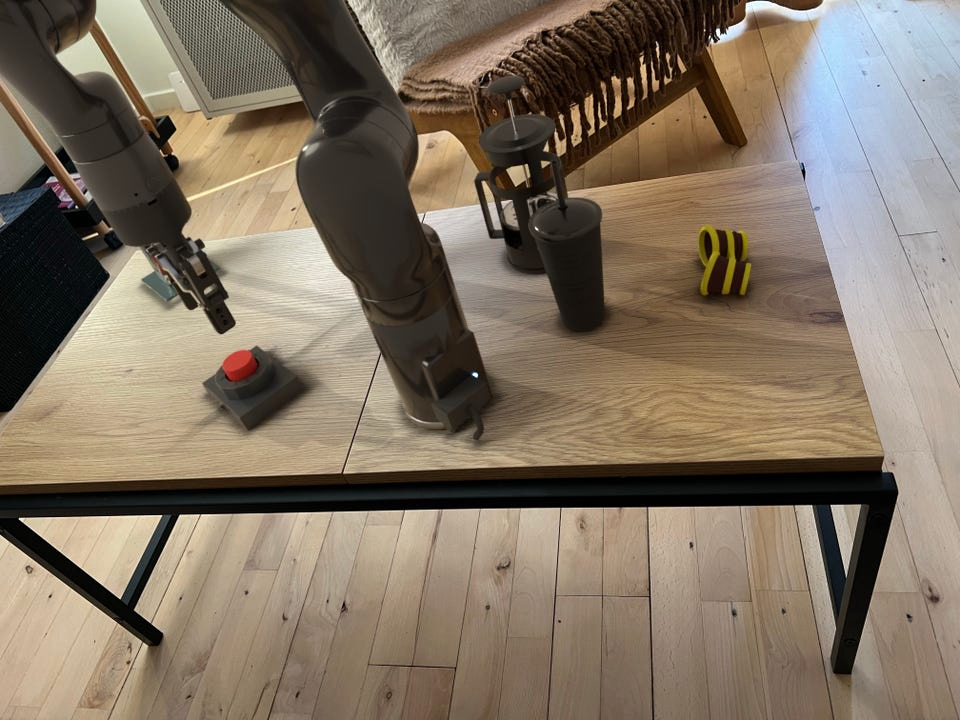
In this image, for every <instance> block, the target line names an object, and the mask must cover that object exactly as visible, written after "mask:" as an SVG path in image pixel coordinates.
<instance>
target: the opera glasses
mask: <svg viewBox="0 0 960 720" xmlns="http://www.w3.org/2000/svg"><path fill="white" fill-rule="evenodd" d="M697 237H698V238H697V246H698V247H697V248H698V254H699V258H700V261H701V262H702V264H703V266H704V267H705V270H704V272H703V275H702V279H701V282H700V294H701V295H702V296H708V295H709V293H721V295H729V293H732V294H736V293H739V295H740V296H745V294H746V291H747V287H748V283H749V279H750V273H751V269H752V263H750V262H746V264H745V263H743V262H745V261H746V260H747V258H748V254H749V237H748V234H747V231H745V230H739V231H736V230H733V231H732V230H731V229H728V228H722V229H718V228H715V227H714V226H712V225H710V224H706V225H704V226H702V227H701V229H700V230H699V232H698V236H697Z"/></svg>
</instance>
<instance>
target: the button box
mask: <svg viewBox="0 0 960 720" xmlns="http://www.w3.org/2000/svg"><path fill="white" fill-rule="evenodd" d="M247 350H248V351H250V352H251V353H252V355H253V357H254V359H255V360H256V362H257V364H258V368H257V370H256V371H255V373H253V374H252V375H251V376H249V377H248V378H246V379H243V380H240V381H237V382H235V381H231V380H230V379H229V378H228V376H227V374H226V373H225V371H224V369H223V367H222V364H221V366H219V368H218V370H217V371H216V372H215V373H214V374H213V375H211V376H210V377H208V378H207V379H206V380H204V381H203V382H201V385H202V386H203V388H204V390H205V391H206V392H207V393H208V394H209V395H210V396H211V397H213V399H215V400H216V401H217V402H218V403H219V404H220V407H221V408H222V409H223V410H224V411H225V412H226V413H228V414H229V415H230V416H231V417H232V418H233V419H234V420H235V421H236V422H237V423H238V424H240V425H241V427H243V428H244V429H245V430H246V431H247V432H248V431H250V430H251V429H253V428H254V427H256V425H258V424H259V423H261V422H262V421H263V420H264V419H266V418H267V417H269V416H270V415H271V414H273V413H274V412H275V411H277V410H278V409H280V408H281V407H282V406H284V405H285V404H286V403H288V402H289V401H290V400H292V399H293V398H295V397H296V396H297V395H299V394H300V393H301V392H303V391H304V390H305V388H304V385H303V384H302V381H301V380H300V379H299V377H298V375H296V374H295V373H294V372H292V371H291V369H289V368H287V367H286V366H284V365H283V364H282V363H280V361H278V360H277V359H275V358H274V357H273V356H271V355H270V354H269V353H267V352H266V351H264V349H262V348H261V347H259V346H258V345H255V346H254V347H252V348H251V349H247Z"/></svg>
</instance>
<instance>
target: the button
mask: <svg viewBox="0 0 960 720" xmlns="http://www.w3.org/2000/svg"><path fill="white" fill-rule="evenodd" d="M248 350H249V349H240V350H236V351H234V352H232V353H231V354H229V355H227V356H226V357H225V358H224V360H223V361H222V364H221V365H222V367H223V369H224V371H225V373H226V374H227V376H228V378H229V379H230V380H231V381H235V382H237V381H240V380H243V379H246V378H248V377H249V376H251V375H252V374H253V373H255V371H256V370H257V368H258V364H257V362H256V360H255V359H254V357H253V355H252V353H251V352H250V351H248Z"/></svg>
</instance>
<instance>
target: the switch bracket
mask: <svg viewBox="0 0 960 720" xmlns="http://www.w3.org/2000/svg"><path fill="white" fill-rule="evenodd" d="M139 249H140V250H141V252H142V253H143V255H144V257H145V259H146V260H147V262H148V264H149V265H150V266H151V268H152V270H153V271H152V272H151V273H148V274H147V275H145V276H144V277H142V278H141V279H140V282H141V283H143V284H144V285H145V286H147V287H148V288H149V289H150V290H152V291H153V292H154V293H155V294H157V295H158V296H159V297H160V298H161V299H163V300H164V301H165V302H169V301H171V300H172V299H174V298H176V297H177V296H178V294H177V292H176V291H175V289H174V287H173V286H172V283H171V284H170V283H169V282H167V281H166V280H165V277H164V276H163V275H162V274H160V273H159V272H157V271H156V269H155V266H154V265H153V263H152V261H151V260H150V258H149V257H148V255H147V254H146V252H145V250H144V249H143V247H139ZM210 263H211V265H212V267H213V269H214V270H215V272H216V271H218V270H220V267H219V266H218V265H216V264H215V263H213V262H212V261H210Z"/></svg>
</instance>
